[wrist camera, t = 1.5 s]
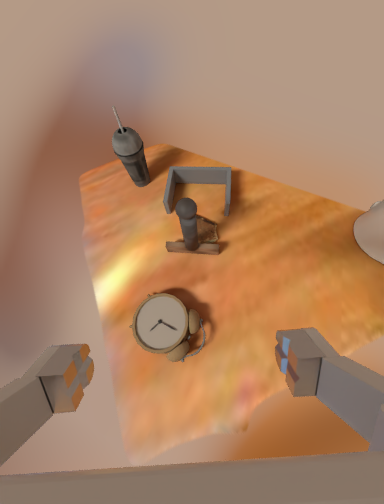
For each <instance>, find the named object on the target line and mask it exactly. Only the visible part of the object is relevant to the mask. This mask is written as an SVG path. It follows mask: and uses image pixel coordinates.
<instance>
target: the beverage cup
mask: <svg viewBox="0 0 384 504" xmlns="http://www.w3.org/2000/svg"><path fill="white" fill-rule="evenodd" d="M112 108H113V111H114V113H115V116H116V118H117V121H118V124H119V126H120V128H119V129H117V130H116V131H115V133H114V135H113V138H112V145H113V149H114V152H115V153H116V154H117V156H118V157H119V159H120V160H121V161H122V163H123V165H124V166H125V168H126V170H127V171H128V173H129V175H130V177H131V178H132V180H133V181H134V183H135V185H136V186H138V187H144V186H146V185H147V184H148V183H149V182H150V178H149V172H148V168H147V164H146V159H145V155H144V147H143V141H142V140H141V138H140V136H139V134H138V133H137V132H136V131H135V130H133V129H131V128H128V127H122V125H121V123H120V120H119V117H118V114H117V112H116V109H115V107H114V106H112Z"/></svg>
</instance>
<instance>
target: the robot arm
mask: <svg viewBox="0 0 384 504" xmlns="http://www.w3.org/2000/svg"><path fill="white" fill-rule="evenodd" d="M353 230H354V236H355V239H356V241H357V243H358V244H359V246H360V247H361V248H362V249H363V251H364V252H366V253H367V254H368V255H369V256H371V257H372V258H374V259H375V260H377V261H379V262H381V263H382V264H384V200H383V201H378V202H376V203H374V204H373V205H372V206H371V207H370V209H369V211H367V212H366V213H364V214H362V215H361V216H359V217H358V218H357V220H356V221H355V224H354V229H353ZM276 339H277V341H278V344H277V346H276V347H275V356H276V361H277V364H278V367H279V369H280V371H281V372H283V373H284V374H285V375H286V383H287V385H288V387H289V389H290V391H291V393H292V395H293V396H294V397H298V396H299V397H300V396H316V397H317V398H318V399H319V400H320V401H321V402H322V403H324V404H325V405H326V406H327V407H328V408H329V409H331V410H332V411H333V412H334V413H335V414H336V415H338V416H339V417H340V418H341V419H342V420H343V421H345V422H346V423H347V424H348V425H349V426H350V427H352V428H353V429H354V430H355V431H356V432H358V433H359V434H360V435H361V436H362V437H363V438H364V439H366V440H367V441H368V442H369V443H370V445H369V448H368V451H367V452H353V453H337V454H323V455H307V456H291V457H276V458H261V459H247V460H230V461H216V462H200V463H187V464H186V463H185V464H171V465H156V466H139V467H124V468H109V469H93V470H79V471H62V472H46V473H31V474H16V475H1V476H0V504H384V376H382V375H380V374H378V373H376V372H374V371H372V370H370V369H368V368H366V367H364V366H362V365H361V364H359V363H357V362H355V361H353V360H351V359H349V358H347V357H345V356H340V355H339V354H338V353H337V352H336V351H335V350H334V349H333V347H332V346H331V345H330V344H329V343H328V342H327V341H326V340H325V338H324V337H323V336H322V335H321V334H320V333H319V332H318V331H317V330H316V329H315V328H313V327H311V328H301V329H291V330H278V331H277V333H276ZM89 352H90V349H89V346H88V345H87V344H70V345H52V346H50V347H48V348H47V349H46V350H45V351H44V352H43V354H41V356H40V357H39V358H38V359H37V360H36V361H35V363H34V364H33V365H32V366H31V367H30V368H29V369H28V371H27V372H26V373H25V374H24V375H23V376H22V377H21V378H18V379H15V380H14V381H12V382H10V383H9V384H7V385H6V386H4V387H2V388H1V389H0V466H1V465H3V464H4V462H6V461H7V460H8V459H9V458H10V457H11V456H12V455H13V454H14V453H15V452H16V451H17V450H18V449H19V448H20V447H21V446H22V445H23V444H24V443H25V442H26V441H27V440H28V439H29V438H30V437H31V436H32V435H33V434H34V433H35V432H36V431H37V430H38V429H39V428H40V427H41V426H42V425H43V424H44V423H45V422H46V421H47V420H48V419H50V418H51V417H52V416H53V414H54V413H64V412H74V411H76V409H77V407H78V406H79V404H80V401H81V399H82V398H83V396H84V393H83V389H84V388H85V387H86V386H87V385H89V383H90V381H91V379H92V377H93V372H94V364H93V360H92V359H91V358H90V357H89V356H88V354H89Z"/></svg>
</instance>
